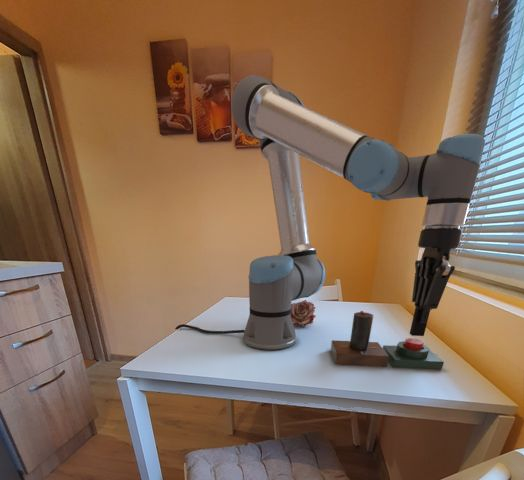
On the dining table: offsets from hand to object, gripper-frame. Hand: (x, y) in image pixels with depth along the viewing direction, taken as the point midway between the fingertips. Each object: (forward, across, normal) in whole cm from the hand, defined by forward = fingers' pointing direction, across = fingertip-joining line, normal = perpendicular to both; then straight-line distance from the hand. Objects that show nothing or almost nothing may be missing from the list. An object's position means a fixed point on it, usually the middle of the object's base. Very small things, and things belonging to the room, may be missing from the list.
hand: (416, 334), depth 67 cm
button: (+3, 0, 0) cm, 3 cm away
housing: (+7, 0, 0) cm, 7 cm away
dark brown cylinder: (+4, 0, +13) cm, 14 cm away
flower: (+7, +26, +26) cm, 38 cm away
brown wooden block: (+7, 0, +13) cm, 15 cm away
